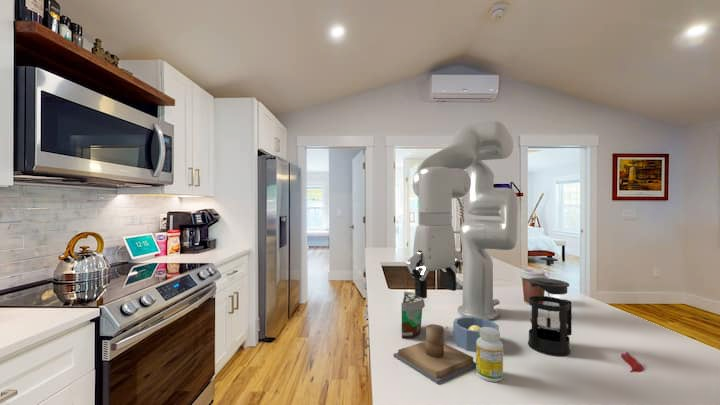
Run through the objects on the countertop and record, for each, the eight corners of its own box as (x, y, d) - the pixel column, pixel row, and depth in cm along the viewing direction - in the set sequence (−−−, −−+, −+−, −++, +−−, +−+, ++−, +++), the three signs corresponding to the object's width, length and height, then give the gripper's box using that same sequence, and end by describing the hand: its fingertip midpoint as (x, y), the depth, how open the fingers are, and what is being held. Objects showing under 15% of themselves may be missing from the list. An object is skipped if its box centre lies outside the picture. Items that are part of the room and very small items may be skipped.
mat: (431, 343, 83) (431, 341, 83) (478, 366, 71) (478, 363, 71) (393, 356, 75) (393, 353, 75) (437, 384, 64) (437, 381, 64)
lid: (433, 343, 82) (433, 315, 82) (473, 362, 72) (473, 330, 72) (398, 354, 75) (398, 324, 75) (436, 378, 65) (436, 343, 65)
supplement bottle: (498, 385, 63) (498, 337, 64) (472, 376, 67) (472, 330, 67) (506, 374, 68) (506, 330, 68) (481, 366, 71) (481, 323, 71)
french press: (546, 358, 75) (546, 261, 75) (517, 342, 84) (517, 255, 84) (585, 353, 78) (585, 260, 78) (553, 337, 87) (553, 254, 87)
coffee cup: (553, 307, 113) (553, 273, 114) (527, 307, 113) (527, 273, 114) (539, 299, 122) (539, 268, 123) (515, 299, 123) (515, 268, 123)
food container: (424, 342, 83) (424, 304, 83) (401, 340, 84) (401, 303, 85) (424, 325, 95) (424, 292, 95) (404, 323, 97) (404, 291, 97)
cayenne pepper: (641, 378, 67) (641, 369, 67) (614, 369, 71) (614, 361, 71) (648, 360, 76) (648, 352, 76) (623, 353, 79) (623, 345, 79)
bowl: (471, 331, 91) (471, 314, 91) (507, 345, 82) (507, 326, 82) (445, 340, 85) (445, 321, 85) (480, 356, 76) (480, 335, 76)
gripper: (447, 217, 82) (448, 283, 82) (396, 221, 72) (397, 295, 72) (472, 219, 75) (472, 290, 76) (419, 223, 66) (420, 304, 66)
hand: (435, 293), depth 74 cm, fingers open, 9 cm apart
